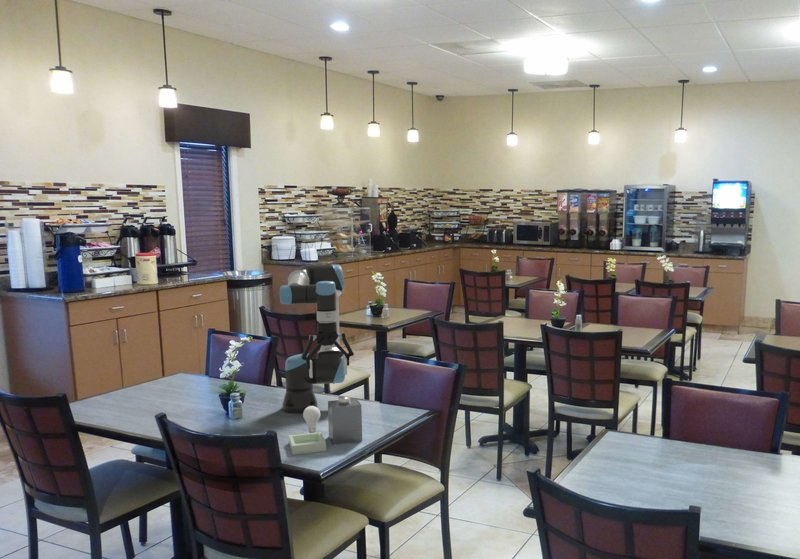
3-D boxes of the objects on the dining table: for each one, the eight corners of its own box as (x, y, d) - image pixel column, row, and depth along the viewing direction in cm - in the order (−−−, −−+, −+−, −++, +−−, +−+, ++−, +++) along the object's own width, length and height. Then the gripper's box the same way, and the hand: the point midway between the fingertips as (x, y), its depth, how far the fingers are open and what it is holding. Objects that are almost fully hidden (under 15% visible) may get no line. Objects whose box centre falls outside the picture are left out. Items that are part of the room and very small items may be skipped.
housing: (328, 436, 261) (327, 395, 260) (356, 433, 264) (355, 393, 263) (333, 444, 252) (331, 402, 251) (362, 441, 255) (361, 399, 254)
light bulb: (317, 437, 261) (317, 409, 260) (301, 436, 262) (300, 408, 261) (323, 431, 267) (322, 404, 266) (307, 430, 269) (306, 403, 268)
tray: (288, 443, 254) (288, 435, 254) (320, 440, 258) (320, 432, 257) (292, 454, 243) (292, 446, 243) (326, 450, 246) (326, 442, 246)
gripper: (295, 325, 257) (297, 380, 258) (360, 320, 264) (361, 374, 266) (292, 322, 264) (294, 376, 266) (355, 318, 271) (357, 370, 273)
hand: (328, 375), depth 266 cm, fingers open, 13 cm apart
